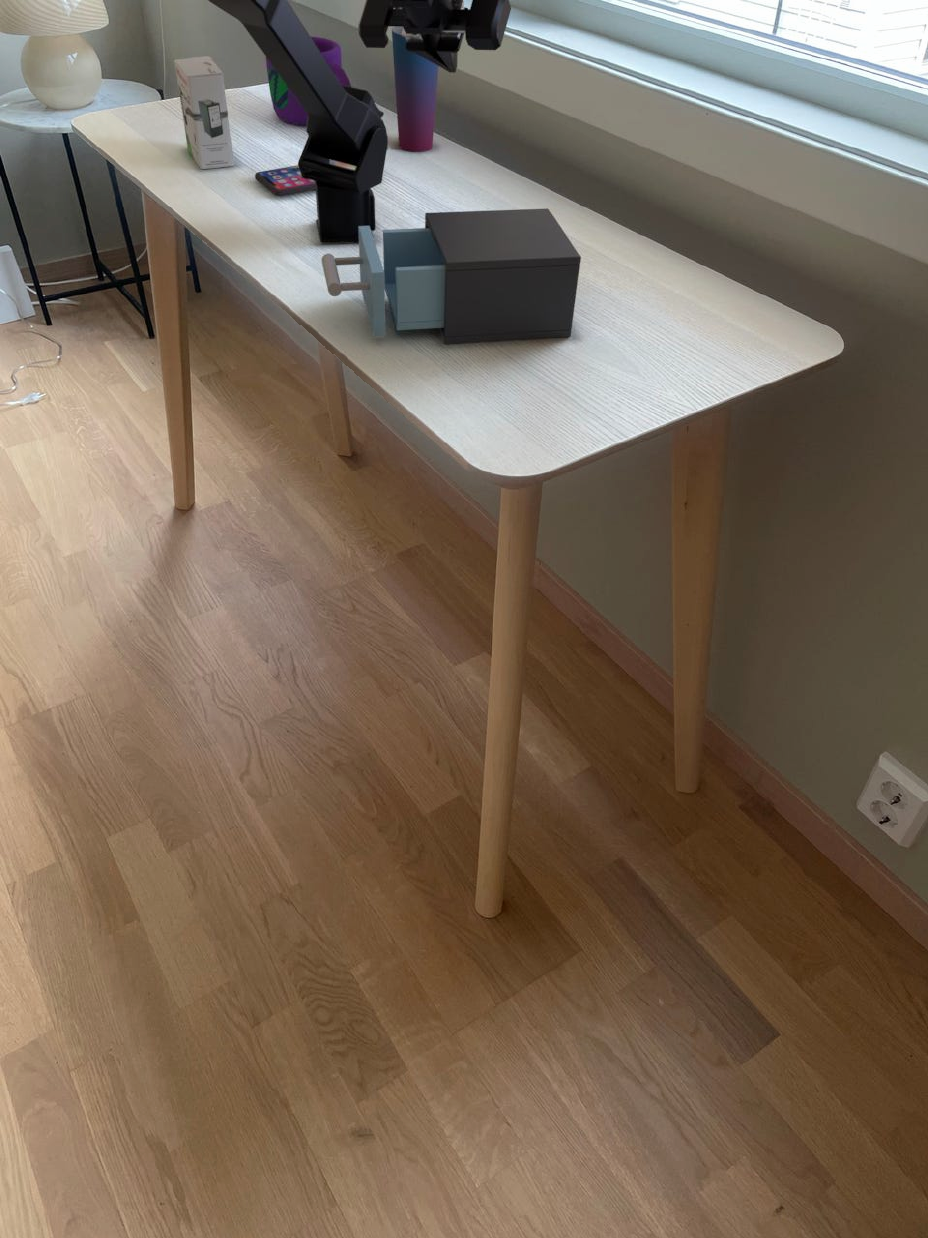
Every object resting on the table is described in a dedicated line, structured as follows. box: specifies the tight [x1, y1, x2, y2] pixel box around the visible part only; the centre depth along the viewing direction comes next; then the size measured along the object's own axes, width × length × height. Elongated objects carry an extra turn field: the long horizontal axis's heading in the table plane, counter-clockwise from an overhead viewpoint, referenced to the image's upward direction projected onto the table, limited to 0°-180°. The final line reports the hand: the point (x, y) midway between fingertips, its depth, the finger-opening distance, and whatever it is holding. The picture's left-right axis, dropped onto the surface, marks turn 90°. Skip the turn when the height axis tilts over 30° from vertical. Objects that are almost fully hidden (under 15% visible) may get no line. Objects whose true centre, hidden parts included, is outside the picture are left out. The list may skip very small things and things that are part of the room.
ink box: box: [173, 55, 236, 170], centre depth 127 cm, size 9×5×12 cm, turn 25°
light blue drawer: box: [321, 226, 446, 338], centre depth 96 cm, size 17×11×7 cm
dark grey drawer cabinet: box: [424, 208, 582, 345], centre depth 98 cm, size 14×13×9 cm
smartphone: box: [254, 160, 356, 198], centre depth 126 cm, size 8×1×15 cm
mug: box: [265, 35, 352, 126], centre depth 141 cm, size 17×11×10 cm, turn 43°
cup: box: [391, 26, 439, 153], centre depth 133 cm, size 7×7×15 cm
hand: (453, 69), depth 121 cm, fingers closed
